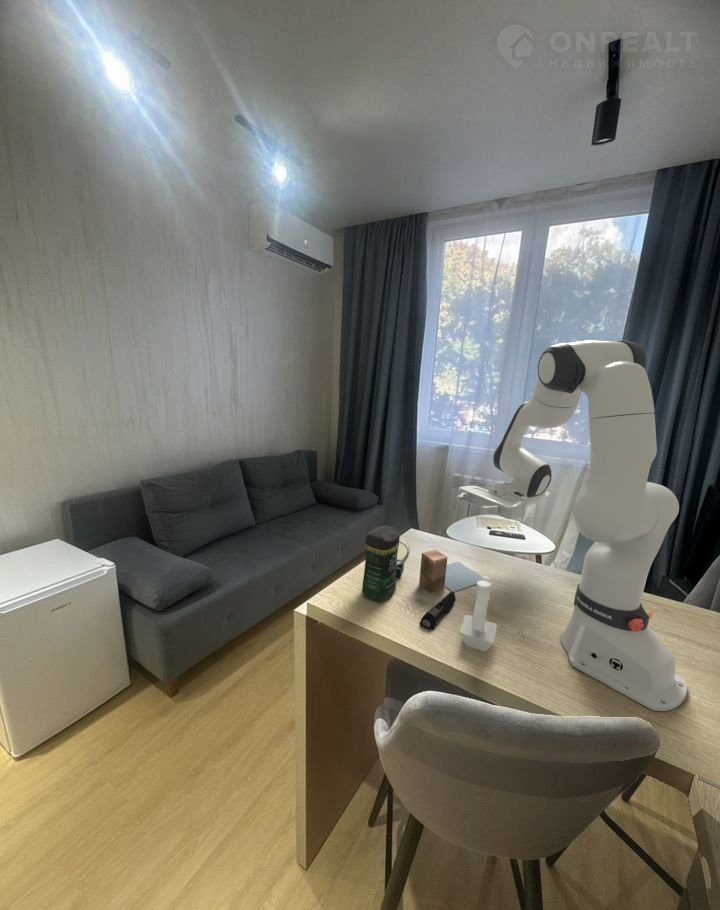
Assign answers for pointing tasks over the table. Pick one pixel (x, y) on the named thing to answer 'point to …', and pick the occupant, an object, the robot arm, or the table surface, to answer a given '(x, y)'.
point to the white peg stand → (479, 620)
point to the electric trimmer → (437, 612)
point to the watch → (401, 562)
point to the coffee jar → (380, 563)
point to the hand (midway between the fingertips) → (469, 504)
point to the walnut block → (433, 571)
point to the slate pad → (460, 577)
